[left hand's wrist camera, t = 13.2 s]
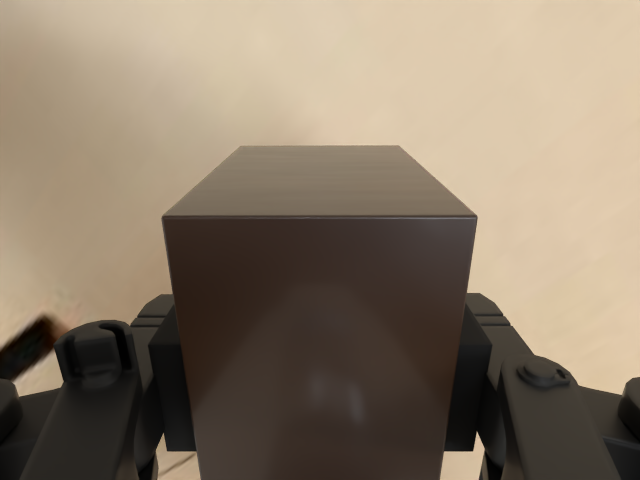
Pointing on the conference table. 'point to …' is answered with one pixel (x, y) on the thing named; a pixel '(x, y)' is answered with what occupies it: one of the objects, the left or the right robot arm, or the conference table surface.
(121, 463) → the left robot arm
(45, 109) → the conference table surface
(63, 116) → the conference table surface
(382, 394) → the beam
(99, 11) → the conference table surface
